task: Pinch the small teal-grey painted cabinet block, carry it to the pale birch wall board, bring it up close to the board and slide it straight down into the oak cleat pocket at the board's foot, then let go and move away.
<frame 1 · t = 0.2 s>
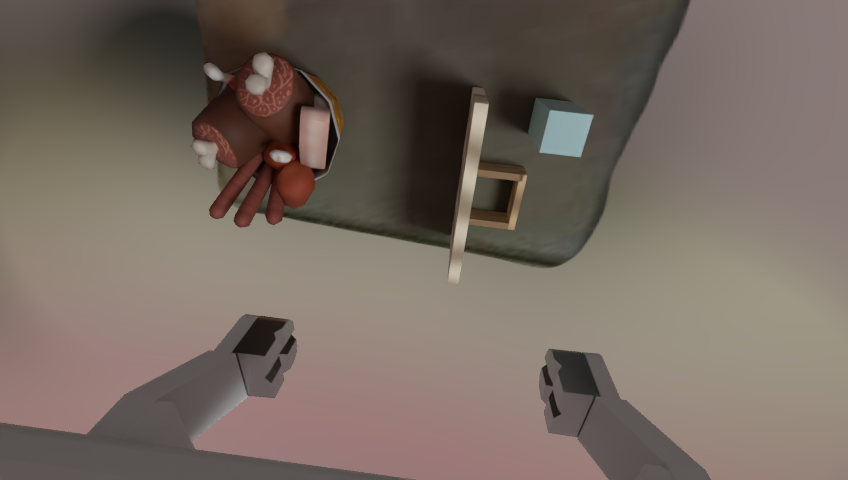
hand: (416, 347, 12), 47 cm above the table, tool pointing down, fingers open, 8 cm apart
bucket of meat: (306, 118, 56), on the table
cleat board: (489, 190, 58), on the table
cabinet block: (549, 118, 52), on the table
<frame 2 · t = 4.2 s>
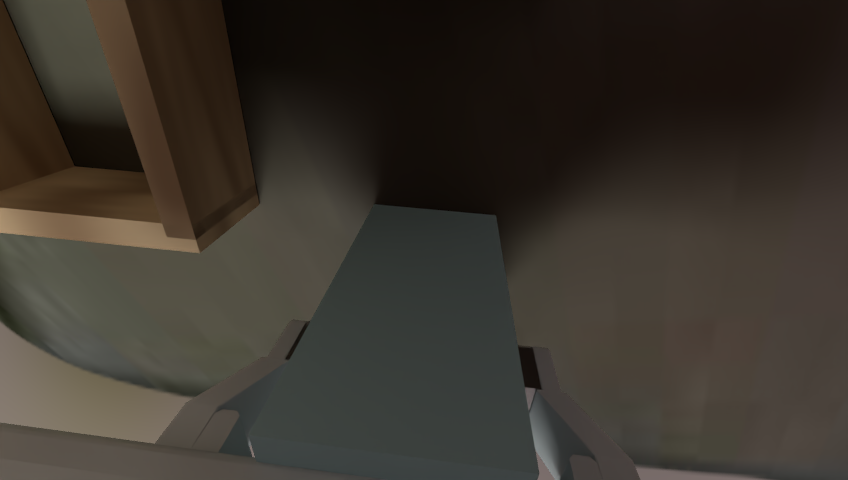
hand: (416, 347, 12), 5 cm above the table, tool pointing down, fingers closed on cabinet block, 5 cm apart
cleat board: (122, 83, 14), on the table
cabinet block: (430, 261, 16), on the table, touching gripper
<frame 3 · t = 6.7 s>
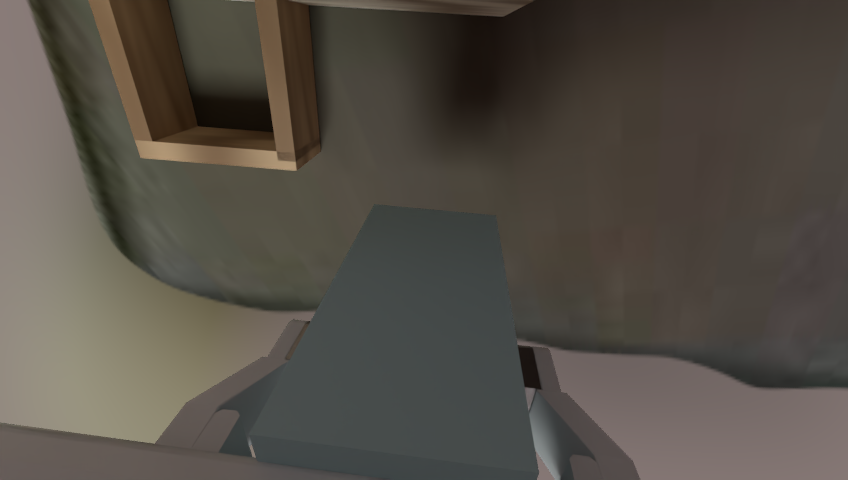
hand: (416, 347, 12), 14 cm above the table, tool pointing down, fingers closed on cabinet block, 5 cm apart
cleat board: (240, 70, 22), on the table
cabinet block: (430, 261, 16), point 9 cm above the table, touching gripper
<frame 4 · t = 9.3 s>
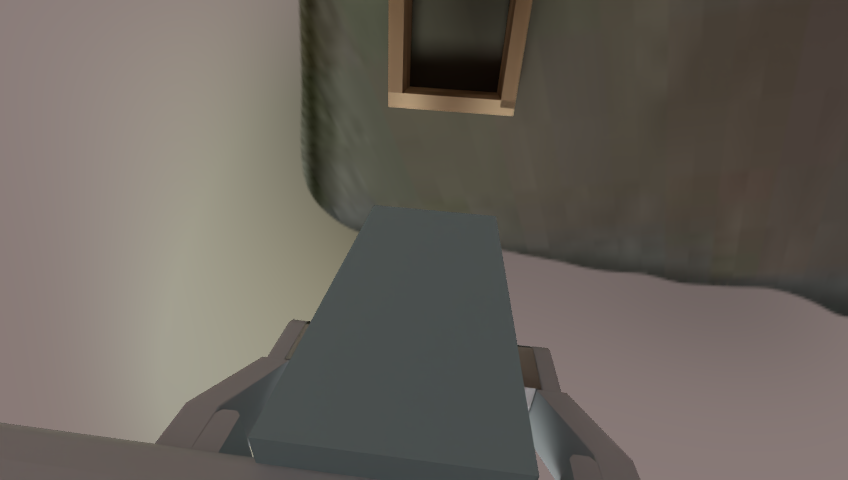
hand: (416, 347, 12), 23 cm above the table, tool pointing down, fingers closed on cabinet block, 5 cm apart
cleat board: (457, 39, 27), on the table
cabinet block: (430, 261, 16), point 18 cm above the table, touching gripper
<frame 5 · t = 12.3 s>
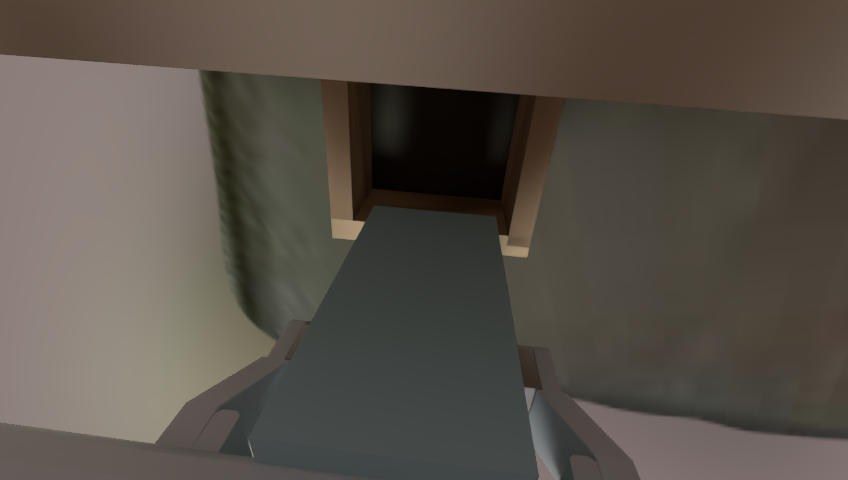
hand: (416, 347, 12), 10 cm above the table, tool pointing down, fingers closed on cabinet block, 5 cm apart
cleat board: (441, 128, 18), on the table
cabinet block: (430, 262, 16), point 5 cm above the table, touching gripper
when the fingers open (7 cm above the table, at t = 14.6 s): cabinet block drops 1 cm, resting in cleat board.
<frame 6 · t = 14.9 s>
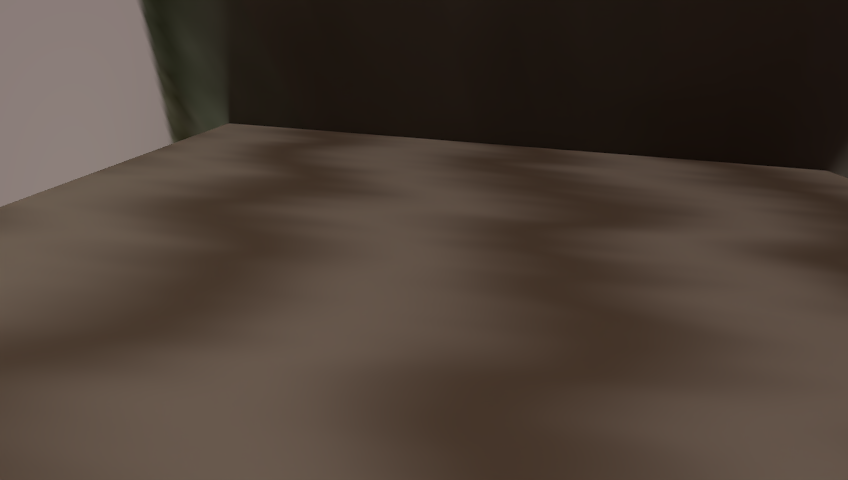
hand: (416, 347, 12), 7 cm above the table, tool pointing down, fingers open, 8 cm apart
cleat board: (431, 245, 17), on the table
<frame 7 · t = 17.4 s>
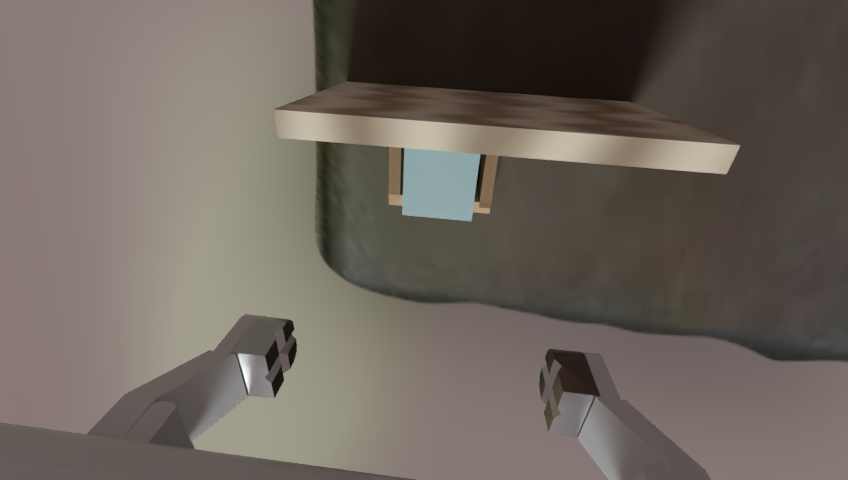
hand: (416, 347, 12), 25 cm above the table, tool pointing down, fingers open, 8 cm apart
cleat board: (444, 146, 34), on the table
cabinet block: (445, 146, 34), resting in cleat board
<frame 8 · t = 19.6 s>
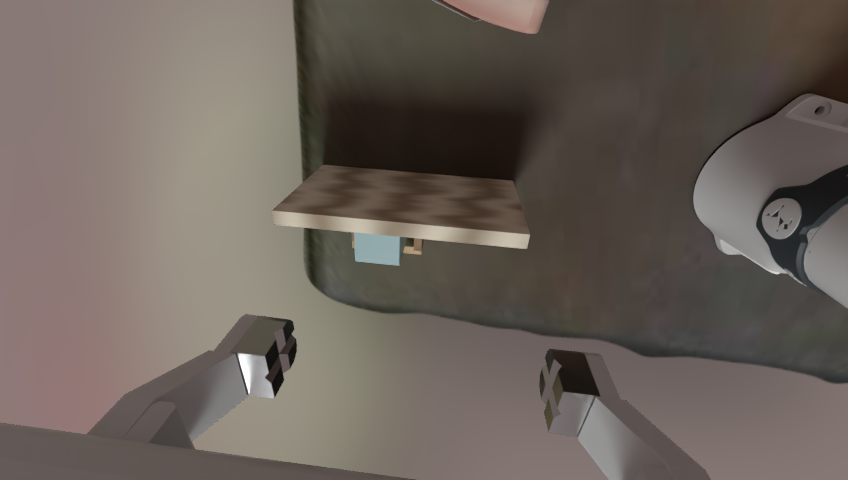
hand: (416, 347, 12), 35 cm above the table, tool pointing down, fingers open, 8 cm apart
cleat board: (392, 206, 48), on the table
cabinet block: (393, 206, 48), resting in cleat board
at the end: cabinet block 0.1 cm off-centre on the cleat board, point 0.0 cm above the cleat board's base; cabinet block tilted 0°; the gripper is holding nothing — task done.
